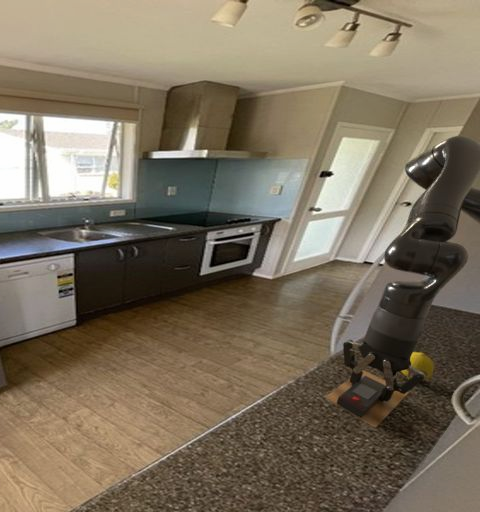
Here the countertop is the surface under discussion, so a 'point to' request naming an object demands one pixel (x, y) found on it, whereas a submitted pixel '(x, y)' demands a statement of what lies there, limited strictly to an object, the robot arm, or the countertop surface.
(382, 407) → the placemat
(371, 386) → the remote
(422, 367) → the lemon
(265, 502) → the countertop surface
